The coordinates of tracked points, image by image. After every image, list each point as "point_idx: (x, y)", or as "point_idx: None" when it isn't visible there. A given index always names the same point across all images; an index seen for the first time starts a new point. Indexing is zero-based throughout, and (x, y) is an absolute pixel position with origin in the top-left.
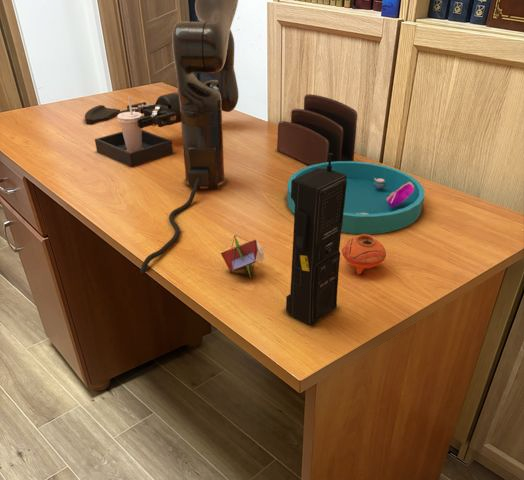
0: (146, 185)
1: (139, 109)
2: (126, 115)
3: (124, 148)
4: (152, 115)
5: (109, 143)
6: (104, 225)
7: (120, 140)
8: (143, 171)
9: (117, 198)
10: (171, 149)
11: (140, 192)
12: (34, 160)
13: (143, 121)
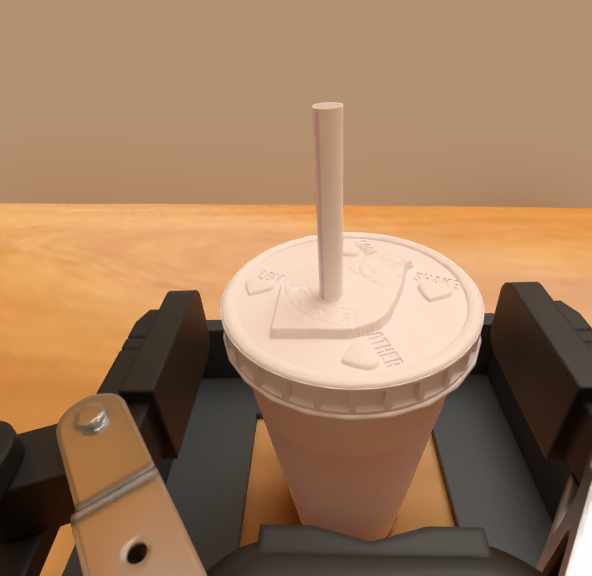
0: (18, 324)
1: (577, 509)
2: (347, 266)
3: (453, 484)
4: (91, 406)
5: (516, 406)
6: (27, 207)
7: (559, 494)
8: (103, 380)
9: (69, 252)
10: None
11: (16, 293)
12: (513, 227)
13: (141, 321)
